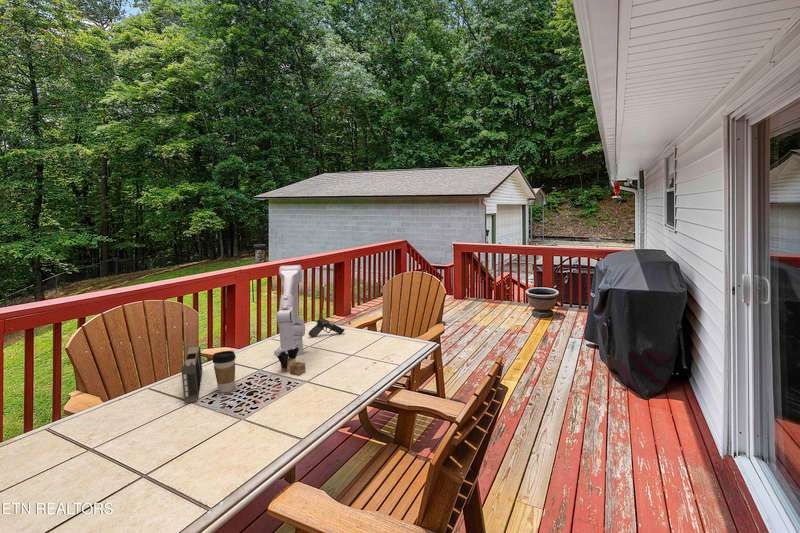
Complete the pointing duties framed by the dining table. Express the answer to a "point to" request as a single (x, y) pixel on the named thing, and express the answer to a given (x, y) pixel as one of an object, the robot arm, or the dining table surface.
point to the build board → (298, 376)
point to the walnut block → (297, 368)
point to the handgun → (320, 326)
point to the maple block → (289, 363)
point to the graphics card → (192, 374)
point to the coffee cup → (225, 370)
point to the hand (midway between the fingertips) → (288, 366)
